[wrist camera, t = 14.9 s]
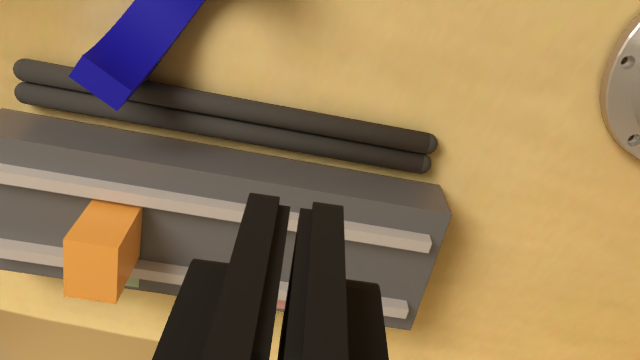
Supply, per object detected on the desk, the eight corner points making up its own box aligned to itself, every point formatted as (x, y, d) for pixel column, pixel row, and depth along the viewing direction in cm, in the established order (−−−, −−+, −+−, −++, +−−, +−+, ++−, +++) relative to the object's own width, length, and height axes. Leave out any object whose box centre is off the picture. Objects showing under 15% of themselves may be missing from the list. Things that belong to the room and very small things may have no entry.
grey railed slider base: (439, 185, 39) (455, 222, 35) (402, 295, 44) (412, 340, 39) (1, 108, 36) (-42, 137, 32) (10, 234, 41) (-28, 275, 36)
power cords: (437, 131, 37) (442, 140, 36) (425, 169, 39) (429, 178, 37) (19, 54, 35) (8, 60, 33) (21, 97, 36) (10, 104, 35)
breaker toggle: (142, 204, 35) (118, 248, 31) (139, 255, 37) (116, 303, 32) (94, 196, 35) (62, 239, 30) (93, 248, 36) (63, 296, 32)
